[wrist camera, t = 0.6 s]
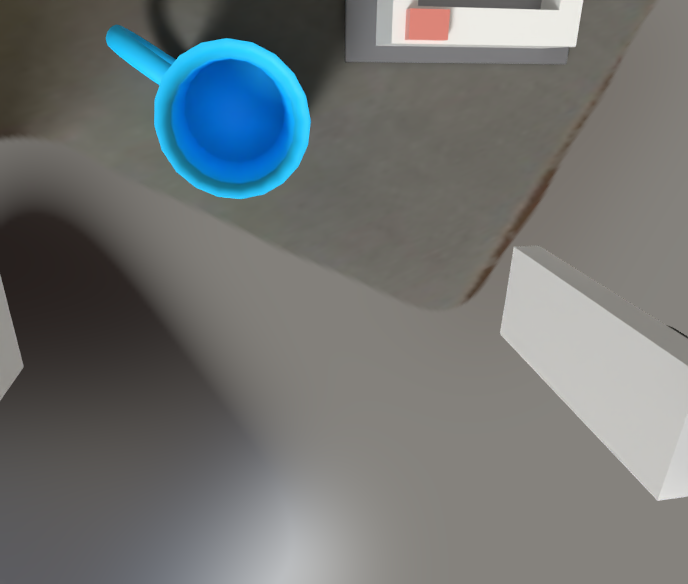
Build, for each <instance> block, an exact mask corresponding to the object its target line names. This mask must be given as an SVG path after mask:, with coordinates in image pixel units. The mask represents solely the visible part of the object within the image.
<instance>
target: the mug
mask: <svg viewBox="0 0 688 584" xmlns="http://www.w3.org/2000/svg"><path fill="white" fill-rule="evenodd" d="M106 42H107V44H108V46H109V47H110V48H111V49H112V50H113V51H114V52H115V53H116V54H117V55H119V56H120V57H121V58H122V59H124V60H125V61H126V62H128V63H129V64H130V65H131V66H133V67H134V68H136V69H137V70H138V71H140V72H141V73H143V74H144V75H145V76H147V77H148V78H150V79H151V80H152V81H154V82H155V83H157V84H158V85H160V86H159V89H158V92H157V95H156V97H155V117H154V126H155V129H156V132H157V136H158V139H159V142H160V145H161V149H162V151H163V153H164V154H165V156H166V157H167V159H168V160H169V161H170V163H171V164H172V166H173V167H174V169H175V170H176V172H177V173H179V174H180V175H181V176H182V177H184V178H185V179H186V180H187V181H188V182H190V183H191V184H192V185H193V186H195V187H196V188H198V189H201V190H203V191H205V192H208V193H210V194H213V195H215V196H217V197H225V198H236V199H244V198H249V197H253V196H258V195H263V194H265V193H267V192H269V191H270V190H272V189H274V188H276V187H277V186H279V185H281V184H282V183H284V182H285V181H286V179H287V178H288V177H289V176H290V175H291V174H292V173H293V172H294V171H295V169H296V168H297V167H298V166H299V164H300V162H301V159H302V157H303V155H304V153H305V150H306V148H307V146H308V140H309V131H310V123H311V120H310V114H309V109H308V104H307V98H306V95H305V93H304V91H303V89H302V87H301V85H300V84H299V82H298V80H297V78H296V76H295V74H294V73H293V72H292V71H291V70H290V69H289V68H288V67H287V66H286V65H285V64H284V63H283V61H282V60H281V59H280V58H279V57H278V56H277V55H276V54H274V53H272V52H270V51H268V50H266V49H264V48H262V47H260V46H258V45H257V44H255V43H253V42H247V41H241V40H235V39H229V38H224V39H219V40H213V41H208V42H202V43H200V44H198V45H197V46H195V47H193V48H191V49H190V50H188V51H186V52H185V53H183V54H181V55H180V56H179V57H178V58H177V59H174V58H173V57H171V56H170V55H168V54H167V53H165V52H163V51H162V50H160V49H159V48H157V47H156V46H154V45H153V44H151V43H150V42H148V41H146V40H145V39H143V38H142V37H140V36H138V35H137V34H135V33H133V32H132V31H130V30H128V29H126V28H124V27H122V26H120V25H114V26H112V27H111V28H110V29H109V30H108V32H107V35H106Z"/></svg>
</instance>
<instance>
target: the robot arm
mask: <svg viewBox="0 0 688 584" xmlns="http://www.w3.org/2000/svg"><path fill="white" fill-rule="evenodd" d="M500 335H502V337H503V338H504V339H505V340H506V341H507V342H508V343H509V344H510V345H511V346H512V347H513V348H514V349H515V350H516V351H517V352H518V353H519V355H520V356H521V357H522V358H523V359H524V360H525V361H526V362H527V363H528V364H529V365H530V366H531V367H532V368H533V369H534V370H535V372H536V373H537V374H538V375H539V376H540V377H541V378H542V379H543V380H544V381H545V382H546V383H547V384H548V385H549V386H550V387H551V388H552V389H553V391H554V392H555V393H556V394H557V395H558V396H559V397H560V398H561V399H562V400H563V401H564V402H565V403H566V404H567V405H568V406H569V407H570V408H571V410H572V411H573V412H574V413H575V414H576V415H577V416H578V417H579V418H580V419H581V420H582V421H583V422H584V423H585V424H586V425H587V427H589V429H590V430H591V431H592V432H593V433H594V434H595V435H596V436H597V437H598V438H599V439H600V440H601V441H602V442H603V443H604V444H605V446H606V447H607V448H608V449H609V450H610V451H611V452H612V453H613V454H614V455H615V456H616V457H617V458H618V459H619V460H620V461H621V463H623V465H624V466H625V467H627V469H628V470H629V471H630V472H631V473H632V474H633V475H634V476H635V477H636V478H637V479H638V480H639V481H640V483H641V484H642V485H643V486H644V487H645V488H646V489H647V490H648V491H649V492H650V493H651V494H652V495H653V496H654V497H655V498H656V500H666V499H673V498H680V497H687V496H688V337H687V336H686V335H684V334H683V333H681V332H679V331H678V330H676V329H674V328H672V327H670V326H667V325H665V324H664V323H662V322H660V321H659V320H657V319H656V318H654V317H652V316H651V315H649V314H647V313H646V312H644V311H643V310H641V309H640V308H638V307H636V306H635V305H633V304H631V303H630V302H628V301H627V300H625V299H624V298H622V297H620V296H619V295H617V294H616V293H614V292H612V291H611V290H609V289H608V288H606V287H604V286H603V285H601V284H600V283H598V282H596V281H595V280H593V279H592V278H590V277H588V276H587V275H585V274H583V273H582V272H580V271H579V270H577V269H576V268H574V267H573V266H571V265H569V264H568V263H566V262H565V261H563V260H561V259H560V258H558V257H556V256H555V255H553V254H551V253H550V252H549V251H547V250H545V249H544V248H542V247H541V246H520V247H519V246H518V247H514V250H513V256H512V262H511V269H510V275H509V281H508V287H507V294H506V300H505V306H504V312H503V318H502V325H501V331H500ZM22 368H23V363H22V359H21V355H20V351H19V347H18V343H17V339H16V335H15V331H14V328H13V323H12V320H11V315H10V312H9V308H8V304H7V300H6V296H5V292H4V288H3V284H2V280H1V276H0V400H1V399H2V397H3V396H4V394H5V393H6V391H7V390H8V389H9V387H10V386H11V384H12V383H13V381H14V380H15V379H16V377H17V376H18V374H19V373H20V371H21V370H22Z"/></svg>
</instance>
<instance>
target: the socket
mask: <svg viewBox="0 0 688 584" xmlns="http://www.w3.org/2000/svg"><path fill="white" fill-rule="evenodd" d="M582 4H583V0H345V62H409V63H502V64H566V63H567V57H568V51H569V47H576V41H577V35H578V29H579V23H580V16H581V10H582Z"/></svg>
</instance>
